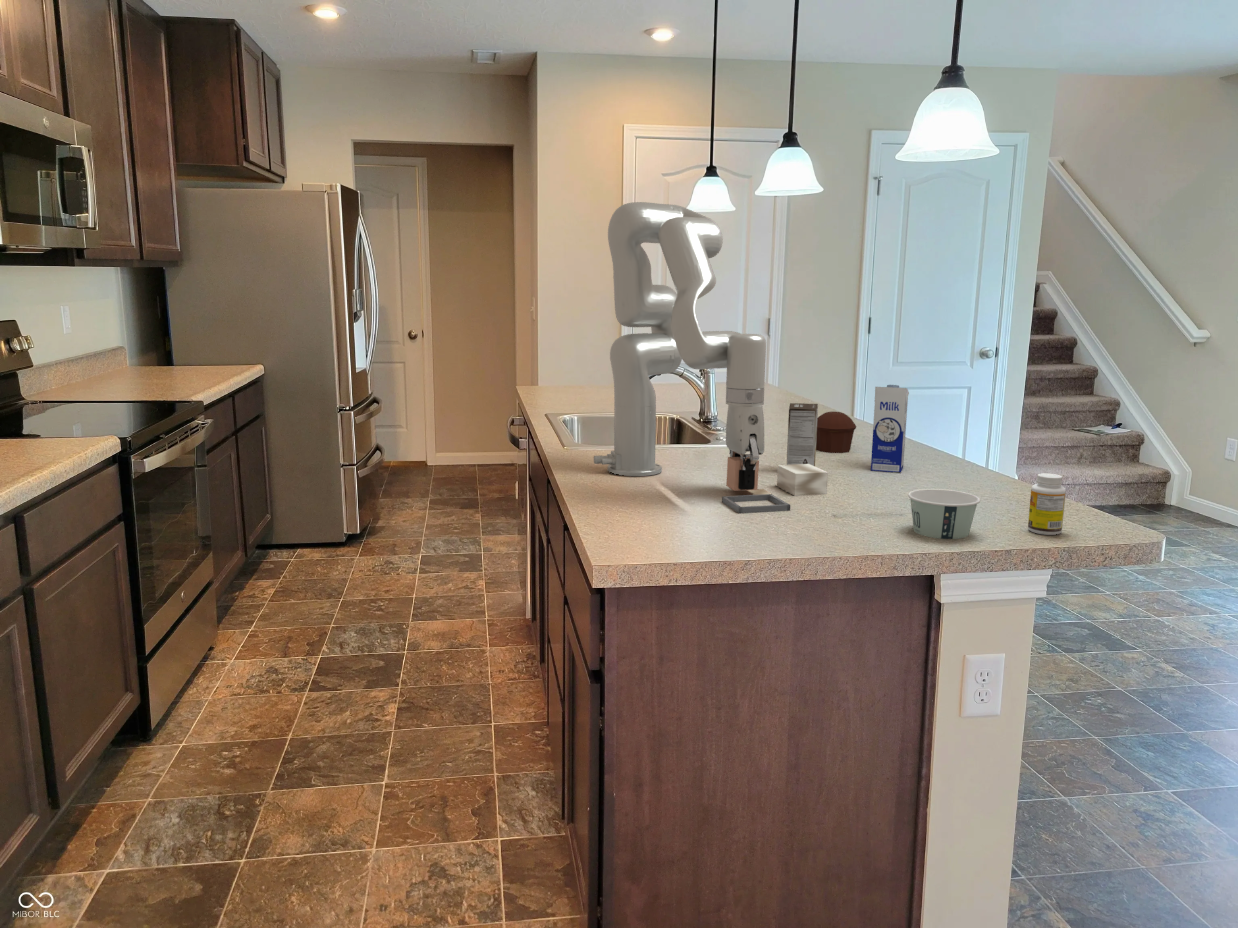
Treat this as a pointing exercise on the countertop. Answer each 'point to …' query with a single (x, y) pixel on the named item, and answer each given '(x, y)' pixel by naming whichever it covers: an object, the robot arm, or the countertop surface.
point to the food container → (942, 512)
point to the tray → (754, 509)
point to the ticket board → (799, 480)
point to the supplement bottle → (1047, 505)
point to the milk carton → (889, 428)
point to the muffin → (834, 432)
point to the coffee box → (802, 433)
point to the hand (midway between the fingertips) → (741, 485)
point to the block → (733, 473)
